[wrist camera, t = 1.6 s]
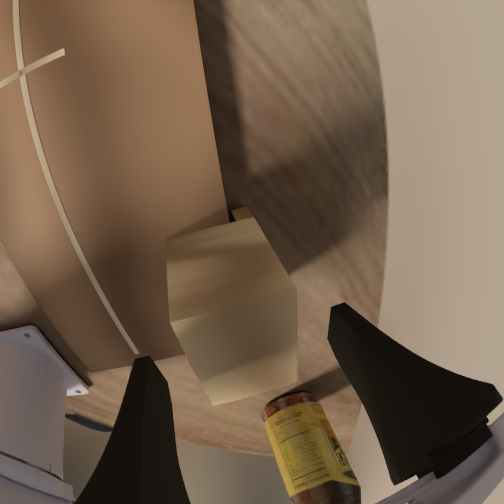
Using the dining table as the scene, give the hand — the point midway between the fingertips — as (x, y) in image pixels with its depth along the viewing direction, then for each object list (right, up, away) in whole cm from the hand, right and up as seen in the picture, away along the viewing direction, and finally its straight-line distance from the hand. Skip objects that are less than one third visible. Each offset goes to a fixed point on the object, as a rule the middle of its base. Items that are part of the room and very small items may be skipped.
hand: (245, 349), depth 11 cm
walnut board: (-7, +7, +1) cm, 10 cm away
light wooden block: (-2, +3, +5) cm, 6 cm away
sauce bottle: (+4, -12, +17) cm, 21 cm away
